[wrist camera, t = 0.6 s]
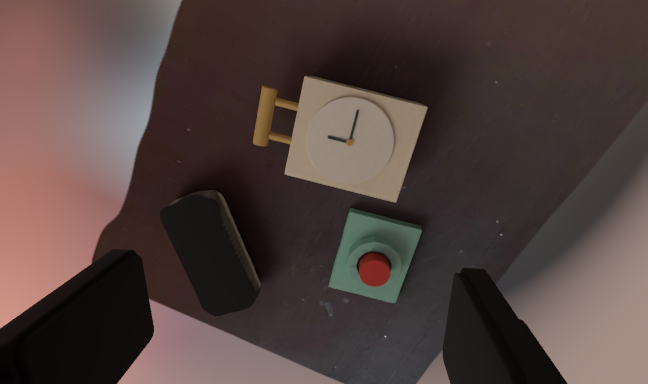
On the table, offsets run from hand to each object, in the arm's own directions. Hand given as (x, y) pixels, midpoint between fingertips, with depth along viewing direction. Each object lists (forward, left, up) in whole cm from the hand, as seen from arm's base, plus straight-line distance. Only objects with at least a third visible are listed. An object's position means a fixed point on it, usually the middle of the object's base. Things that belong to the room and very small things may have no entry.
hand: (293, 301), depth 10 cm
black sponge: (+19, -12, -31) cm, 38 cm away
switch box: (+14, +8, -31) cm, 35 cm away
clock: (0, -1, -31) cm, 31 cm away
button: (+14, +8, -29) cm, 33 cm away
